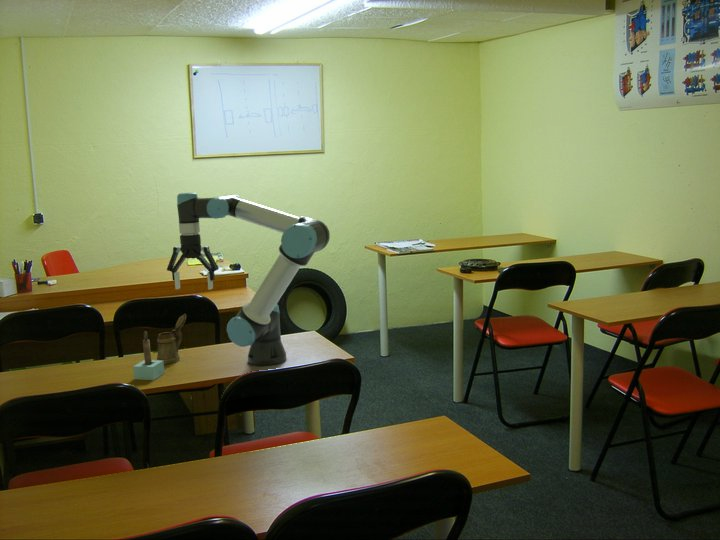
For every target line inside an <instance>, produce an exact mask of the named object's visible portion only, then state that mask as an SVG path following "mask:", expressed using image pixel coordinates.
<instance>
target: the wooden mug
mask: <svg viewBox="0 0 720 540" xmlns="http://www.w3.org/2000/svg"><path fill="white" fill-rule="evenodd" d="M186 320H187V314H186V313H184V314H182V315H181V316H179V317H178V319H177V321H176V323H175V329H172V330H171V332H170V331H166V332H161V333H158V335H157V339H156V343H157V357H156V360H161V361H164V365H165V364H166V365H168V364H174V363H177V362H178V361H180V359H181V357H180V354H179V348H180V346H181V343H182V340H183V333H182V331H181V328H182V327H183V326H184V324H185V322H186ZM176 339H177V341H176Z"/></svg>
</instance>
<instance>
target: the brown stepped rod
mask: <svg viewBox="0 0 720 540" xmlns="http://www.w3.org/2000/svg"><path fill="white" fill-rule="evenodd" d="M150 341H151V340H150V339H148V332H147V331H146V330H145V331H144V332H143V340H142V348H143V357H144V358H143V360H145V365H151V364H152V362H151V360H152V355H151V354H152V353H151V342H150Z"/></svg>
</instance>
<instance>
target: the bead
mask: <svg viewBox="0 0 720 540" xmlns="http://www.w3.org/2000/svg"><path fill="white" fill-rule="evenodd" d="M151 362H152V364H151V365H145V359H143V360H142V361H139V362H138V363H137V364H134V365H133V366H132V368H133V378H134V380H141V381H145V380H146V381H155V380H156V379H158V378H159V377H161V376H163V375H164V374H165V364H164V361H161V360H157V359H156V360H155V359H151Z"/></svg>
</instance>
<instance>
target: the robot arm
mask: <svg viewBox="0 0 720 540" xmlns="http://www.w3.org/2000/svg"><path fill="white" fill-rule="evenodd" d="M176 196H177V197H176V201H177V202H176V203H177V204H176V207H177V215H178V226H179V227H178V229H179V234H180V236H179V242H180V246H178V245H176V246H173V248H172V254H171V257H170V260H169V262H168V265H167V268H166V271H168V272H171V275H172V276H171V277H172V281H174V287H175V288H174V289H175V290H179V289H181V280H180V279H181V277H180V271H178V270H179V269H180V267H181V266H182V264H183V263H184V262H185V260H186V259H189V260H190V259H194V260H195V259H196V260H197V261H199V262H200V263H201V265H202V266H204V268H205V269H206V270H207V271H208V272H207V273H206V275H207V276H206V278H207V289H208V291H209V290H212V289H214V283H213V281H214V280H215V272H216V271H218V270H219V269H220V267H219V266H218V264H217V261H216V260H215V258H214V256H213V255H212V253H211V251H210V246H209V245H205V246H201V243H202V242H201V241H202V239H201V234H200V233H201V229H200V227H201V226H200V219H214V220H215V219H216V220H217V219H223V218H226V217H227V216H229V217H232V218H235V219H240V220H242V221H245V222H248V223H252V224H255V225H257V226H260V227H263V228H266V229H269V230H273V231H276V232H279V233H281V234H282V236H281V238H280V239H281V240H280V243H281V244H280V245H279V247H278V252H279V255H278V257H277V258H276V259H275V262H274V263H273V264H272V266H271V268H270V269H269V271H268V272H267V275H266V276H265V278H264V279H263V281H262V283H261V284H260V285H259V287H258V289H257V291H256V292H255V294H254V295H253V297H252V298H251V300H250V302H247V303H244V304H242V307H241V308H240V310H239V312H238V313H237V315H236V316H233V317H232V318H230V320H229V321H228V323H227V324H226V333H227V336H228V339H229V340H230V341H231V342H232V343H233V344H234V345H236V346H237V347H248V346H249V350H248V353H247V362H248V363H249V364H250V365H253V366H263V367H264V366H273V365H274V366H275V365H278V364H281V363H284V362H285V361H286V360H287V352H286V349H285V347H284V345H283V343H282V337H281V322H280V321H281V320H280V319H281V317H280V307H279V304H278V303H279V301H280V299H281V298H282V296H283V295H284V293H285V292H286V290H287V288H288V287H289V285H290V284H291V282H292V281H293V279H294V277H295V276H296V274H297V273H298V271H299V269H300V268H301V267H306V266H307V265H308V264H309V262H310V260H311V258H312V257H313V256H314V254H315V253H317V252H320V251H322V250H324V249H325V248H326V247H327V245H328V244H329V241H330V239H331V238H330V237H331V235H330V233H331V232H330V229H329V228H328V226H327V225H326V223H324V221H321V220H318V219H315V218H312V217H308V216H305V215H302V216H300V217H299V216H296V215H294V214H289V213H286V212H283V211H280V210H277V209H275V208H271V207H267V206H265V205H262V204H258V203H255V202H252V201H248V200H245V199H243V198H242V197H241V196H239V195H238V194H228V195H222V196H215V197H203V198H202V197H198V194H197V193H196V192H180V193H178V194H177V195H176ZM180 252H181V253H182V254H181V255H180V257H179V259H178V256H179V253H180ZM203 253H204V255H205V257H206V258H205V257H204V255H203ZM177 260H178V261H177Z"/></svg>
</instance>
